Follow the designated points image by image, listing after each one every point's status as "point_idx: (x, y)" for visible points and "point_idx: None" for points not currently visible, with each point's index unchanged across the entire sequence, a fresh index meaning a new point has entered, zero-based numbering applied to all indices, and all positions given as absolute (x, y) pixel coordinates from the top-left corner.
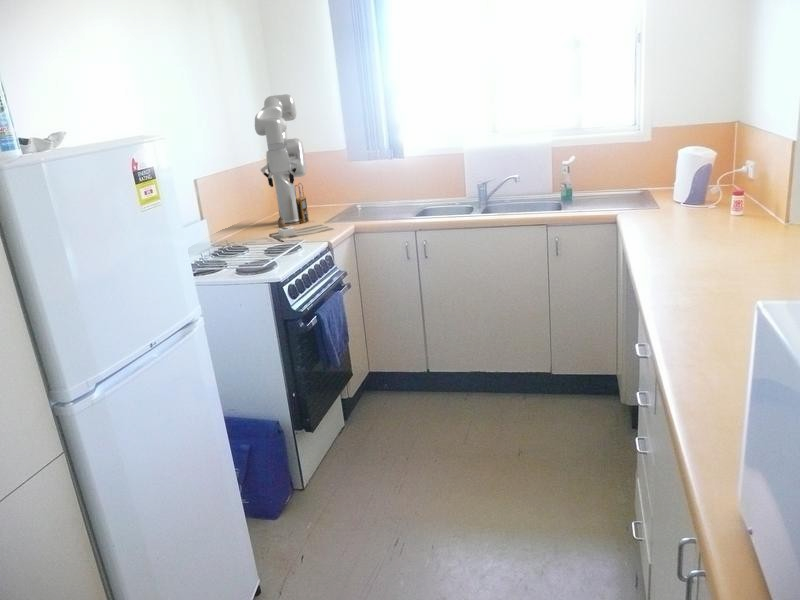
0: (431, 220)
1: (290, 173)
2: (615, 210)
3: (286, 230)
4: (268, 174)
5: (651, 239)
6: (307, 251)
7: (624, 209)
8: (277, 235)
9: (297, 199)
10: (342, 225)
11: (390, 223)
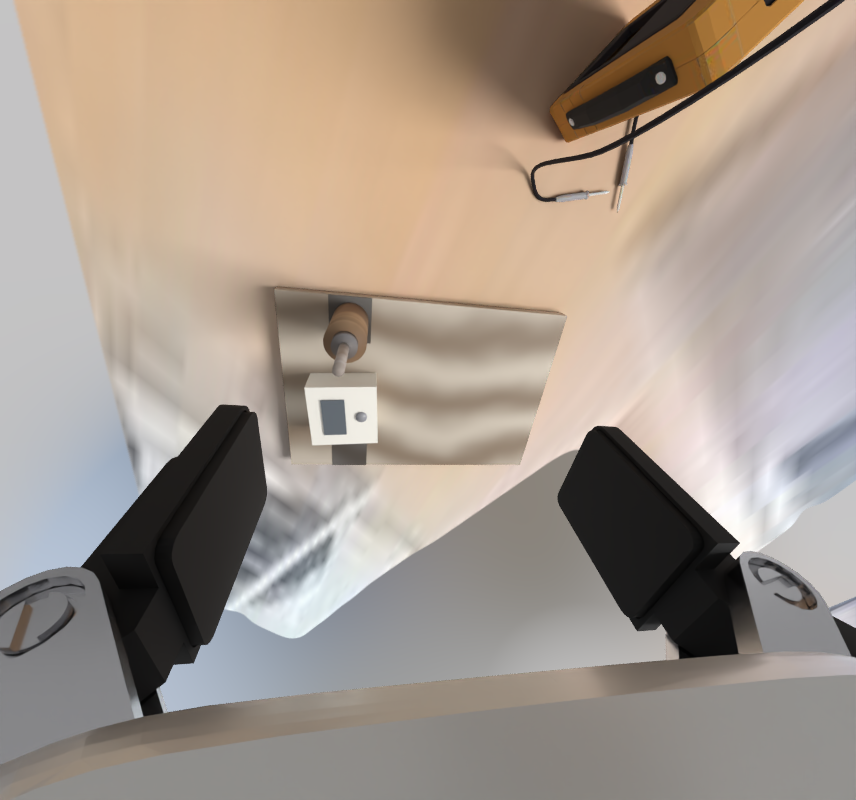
0: None
1: (686, 634)
2: None
3: (331, 442)
4: (3, 738)
5: None
6: (322, 602)
7: None
8: (303, 370)
9: (699, 43)
10: (614, 372)
11: None
